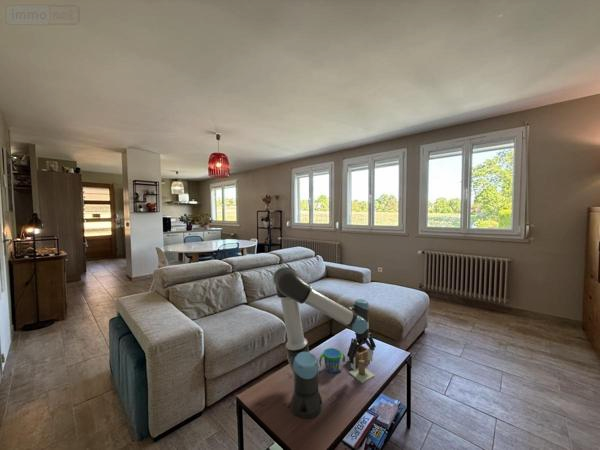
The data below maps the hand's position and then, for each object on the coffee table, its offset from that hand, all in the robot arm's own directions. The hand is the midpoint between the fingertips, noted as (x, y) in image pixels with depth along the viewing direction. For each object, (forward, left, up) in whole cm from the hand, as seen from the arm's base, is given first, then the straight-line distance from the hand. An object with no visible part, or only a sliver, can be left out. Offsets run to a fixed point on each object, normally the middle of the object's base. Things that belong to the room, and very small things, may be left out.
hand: (361, 364), depth 143 cm
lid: (0, 0, -7) cm, 7 cm away
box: (+8, +10, -6) cm, 14 cm away
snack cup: (-11, +13, -6) cm, 18 cm away
